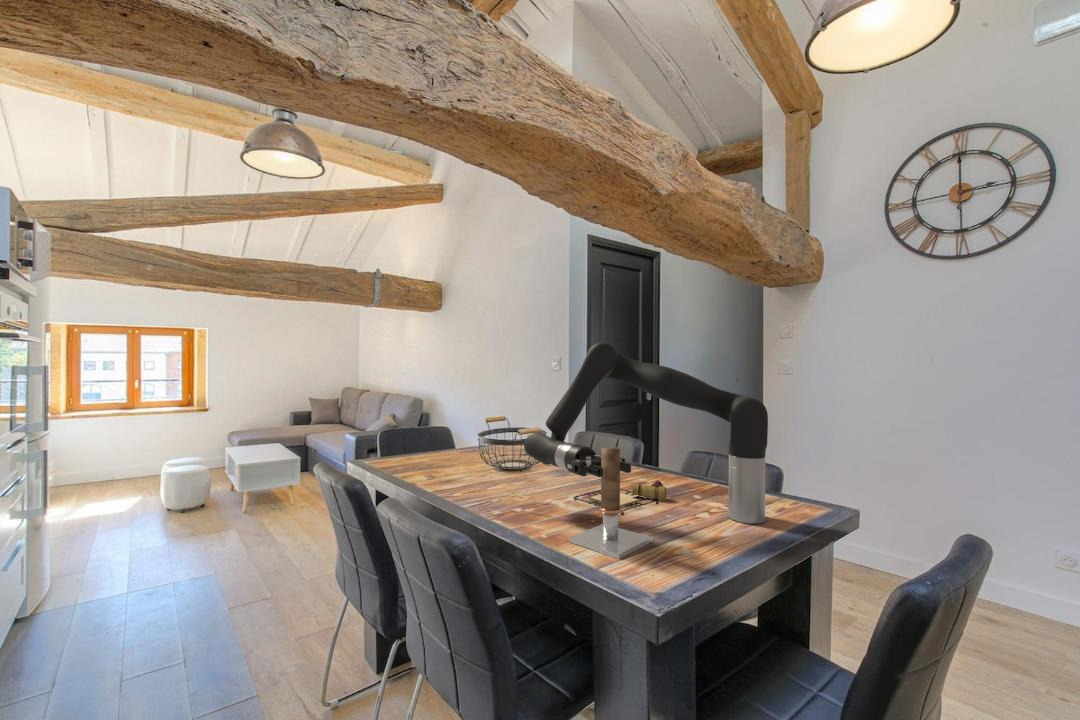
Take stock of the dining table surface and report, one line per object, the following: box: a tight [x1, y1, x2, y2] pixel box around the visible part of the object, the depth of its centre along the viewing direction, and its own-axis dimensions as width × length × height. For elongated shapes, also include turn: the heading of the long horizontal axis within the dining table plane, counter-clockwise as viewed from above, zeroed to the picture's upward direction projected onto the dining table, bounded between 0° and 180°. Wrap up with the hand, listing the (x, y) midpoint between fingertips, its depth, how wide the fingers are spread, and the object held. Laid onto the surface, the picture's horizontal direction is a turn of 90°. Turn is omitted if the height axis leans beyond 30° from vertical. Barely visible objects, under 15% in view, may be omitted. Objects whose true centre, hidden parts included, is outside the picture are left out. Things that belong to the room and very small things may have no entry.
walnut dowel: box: [600, 446, 621, 511], centre depth 114 cm, size 4×4×14 cm
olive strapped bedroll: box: [631, 480, 668, 502], centre depth 158 cm, size 21×5×10 cm
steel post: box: [568, 505, 653, 560], centre depth 114 cm, size 14×14×8 cm
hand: (616, 470), depth 112 cm, fingers open, 8 cm apart
